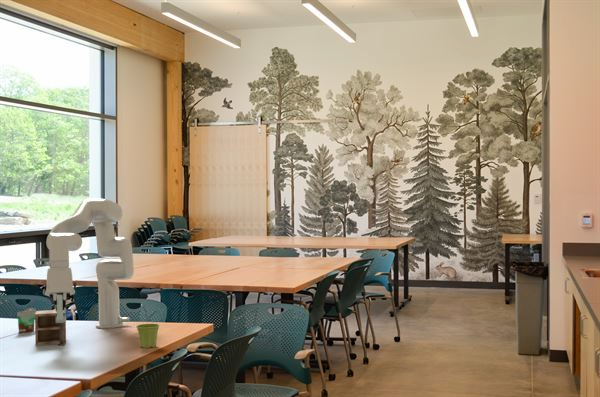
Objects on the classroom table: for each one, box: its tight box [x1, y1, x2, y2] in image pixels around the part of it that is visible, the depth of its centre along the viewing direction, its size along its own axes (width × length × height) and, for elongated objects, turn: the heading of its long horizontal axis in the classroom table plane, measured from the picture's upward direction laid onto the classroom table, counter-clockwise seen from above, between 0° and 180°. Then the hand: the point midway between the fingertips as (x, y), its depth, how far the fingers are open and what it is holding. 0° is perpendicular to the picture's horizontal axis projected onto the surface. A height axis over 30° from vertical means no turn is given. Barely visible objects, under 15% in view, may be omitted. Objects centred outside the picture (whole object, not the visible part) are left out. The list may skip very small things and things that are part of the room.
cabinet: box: [34, 309, 67, 347], centre depth 327 cm, size 12×14×13 cm
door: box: [54, 294, 67, 323], centre depth 318 cm, size 15×4×10 cm, turn 15°
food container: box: [16, 307, 37, 334], centre depth 357 cm, size 12×6×10 cm, turn 179°
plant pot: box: [135, 323, 160, 349], centre depth 317 cm, size 9×9×9 cm
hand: (60, 309), depth 316 cm, fingers closed on door
